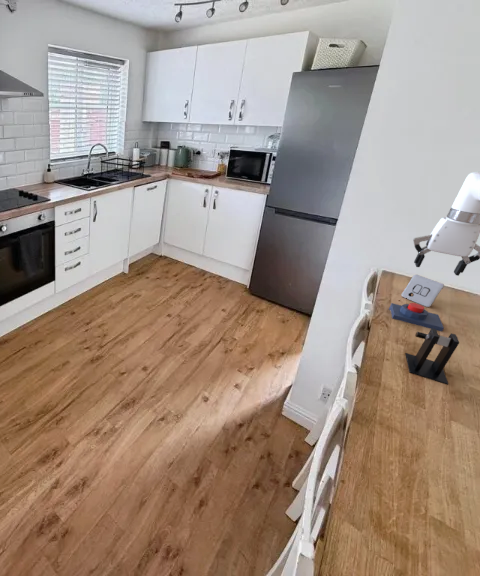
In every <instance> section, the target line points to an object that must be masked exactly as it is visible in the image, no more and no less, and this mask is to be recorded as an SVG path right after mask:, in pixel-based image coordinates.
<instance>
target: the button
mask: <svg viewBox="0 0 480 576" xmlns="http://www.w3.org/2000/svg"><path fill="white" fill-rule="evenodd" d="M408 304H409V306H408V307H407V308H408V309H409V310H411V311H413V312H417V313H422V312H423V310H424V309H425V306H424V305H421V304H419V303H416V302H410V303H408Z"/></svg>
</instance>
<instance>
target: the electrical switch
mask: <svg viewBox="0 0 480 576" xmlns="http://www.w3.org/2000/svg"><path fill="white" fill-rule="evenodd" d="M444 287H445V284H444V283H442V282H439V281H437V280H434V279H431V278H428V277H425V276H422V275H419V274H414V275H413V276H412V277H411V278H410V280H409V282H408V284H407V285H406V287H405V288H404V290H403V291H402V293H401V297H402V298H404V299H406V298H407V299H406V300H409V301H411V302H413V303H416V304H419V305H422V306H423V307H425V308H431V306H432V305H434V303H435V301H436V299H437V297H438V296H439V294H440V292H441V291H442V290H443V289H444Z"/></svg>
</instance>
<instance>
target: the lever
mask: <svg viewBox="0 0 480 576" xmlns="http://www.w3.org/2000/svg"><path fill="white" fill-rule="evenodd" d="M427 335H428V333H424V332H421V331H416V333H415V336H414V337H415V338H418V339H422V340H425V339H426V336H427ZM438 336H439V338H438V340H437V342H436V343H435V345H438V346H442V347H443V346H445V347H448V345H449V342H450V340H451V338H448V337H449V336H448V337H447V336H443V335H441V334H438Z"/></svg>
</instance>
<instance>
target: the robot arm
mask: <svg viewBox="0 0 480 576" xmlns="http://www.w3.org/2000/svg"><path fill="white" fill-rule="evenodd" d="M457 193H458V194H457V195H456V197H455V198H454V201H453V202H452V205H451V207H450V209H449V211H448V213H447V214H446V216H442V217H441V218H440V219H439V221H438V222H437V223H436V225H435V226H434V227H433V229H432V231H431V232H430V234H428V235H423V236H417V237H413V239H412V240H413V245H414V248H415V250H416V252H417V254H416V257H415V259H414V261H413V263H414V265H415V267H416V268H420V267H421V265H422V263H423V261H424V259H425V257H426V255H425V254H427V253H430V252H434V253H438V254H439V253H440V254H445V255H450V256H454V257H455V256H456V257H461V260H459V261H458V263H457V264H456V266H455V267H454V270H453V273H454V275H455V276H458V277H459V276H460V275H461V274H463V273H464V271H465V270H466V268H467V266H468V265H470V264H471V263H473V262H476V261H479V260H480V245H478V244H477V242H478V239H479V237H480V171H471V172H470V173H468V174H467V176H466V177H465V180H464V181H463V184H462V185H461V188H460V189H459V191H458V192H457ZM421 242H425V245H424V246H421V244H420V243H421ZM474 250H475V251H476V252H477V253H476V254H473V255H471V254H472V252H473V251H474Z"/></svg>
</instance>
